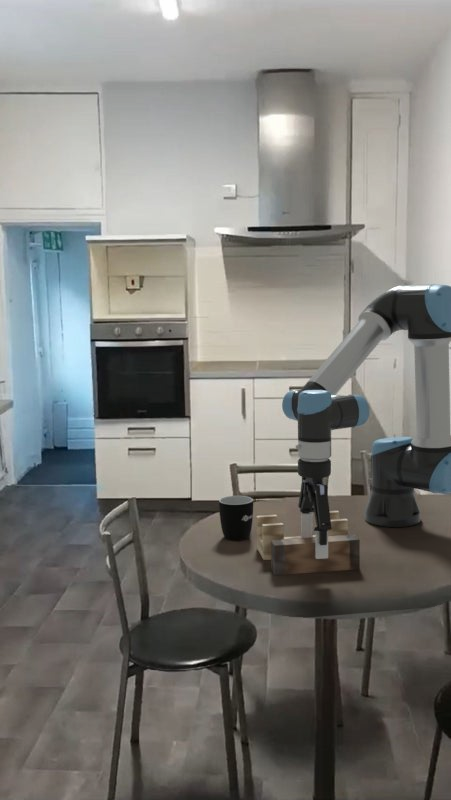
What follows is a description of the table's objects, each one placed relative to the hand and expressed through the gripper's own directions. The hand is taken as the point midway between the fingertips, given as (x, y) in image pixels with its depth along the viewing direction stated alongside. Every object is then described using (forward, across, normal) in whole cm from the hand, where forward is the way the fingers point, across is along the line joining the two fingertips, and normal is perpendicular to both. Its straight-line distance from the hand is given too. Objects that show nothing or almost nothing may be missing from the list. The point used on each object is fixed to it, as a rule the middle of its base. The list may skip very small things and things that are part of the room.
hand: (314, 549), depth 186 cm
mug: (+5, -29, -13) cm, 32 cm away
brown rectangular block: (+5, 0, 0) cm, 5 cm away
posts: (+5, -13, 0) cm, 14 cm away
